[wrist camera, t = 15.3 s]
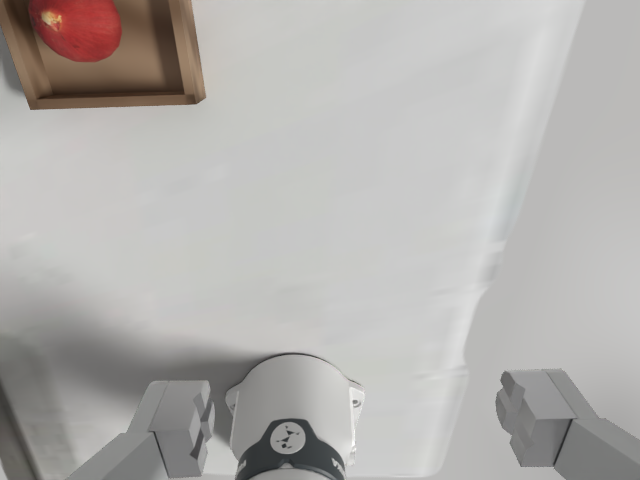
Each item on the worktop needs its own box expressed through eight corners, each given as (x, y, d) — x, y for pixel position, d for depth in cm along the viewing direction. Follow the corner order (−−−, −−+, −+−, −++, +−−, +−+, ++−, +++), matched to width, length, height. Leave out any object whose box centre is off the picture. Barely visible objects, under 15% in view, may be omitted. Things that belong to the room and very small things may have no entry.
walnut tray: (206, 97, 37) (196, 104, 34) (53, 102, 37) (30, 109, 34) (178, -80, 31) (163, -92, 28) (-3, -74, 31) (-38, -85, 28)
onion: (72, 56, 35) (9, 64, 28) (56, -24, 32) (-17, -39, 25) (141, 61, 35) (97, 70, 28) (132, -18, 32) (80, -30, 25)
